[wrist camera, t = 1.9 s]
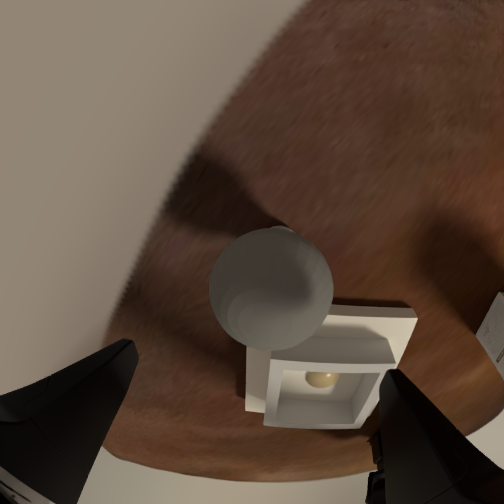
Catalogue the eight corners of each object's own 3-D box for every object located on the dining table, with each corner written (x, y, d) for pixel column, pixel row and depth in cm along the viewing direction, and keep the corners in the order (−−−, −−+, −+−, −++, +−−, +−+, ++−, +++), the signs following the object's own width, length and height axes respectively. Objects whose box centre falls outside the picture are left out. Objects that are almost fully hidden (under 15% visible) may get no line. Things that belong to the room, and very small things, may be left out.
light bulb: (246, 281, 21) (212, 376, 12) (231, 206, 19) (173, 266, 10) (324, 273, 20) (339, 372, 11) (316, 194, 18) (338, 248, 9)
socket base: (412, 308, 20) (430, 340, 16) (368, 406, 25) (372, 436, 21) (250, 297, 22) (239, 332, 18) (247, 400, 27) (240, 432, 23)
